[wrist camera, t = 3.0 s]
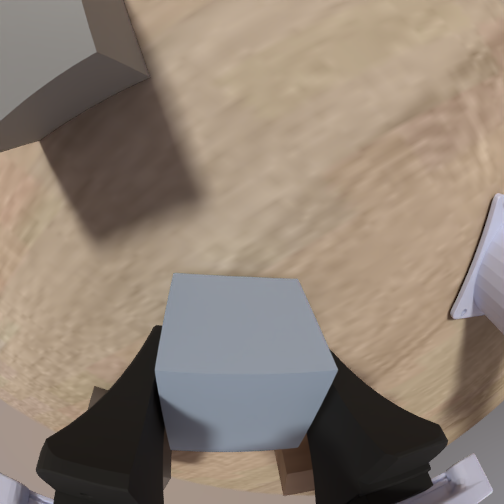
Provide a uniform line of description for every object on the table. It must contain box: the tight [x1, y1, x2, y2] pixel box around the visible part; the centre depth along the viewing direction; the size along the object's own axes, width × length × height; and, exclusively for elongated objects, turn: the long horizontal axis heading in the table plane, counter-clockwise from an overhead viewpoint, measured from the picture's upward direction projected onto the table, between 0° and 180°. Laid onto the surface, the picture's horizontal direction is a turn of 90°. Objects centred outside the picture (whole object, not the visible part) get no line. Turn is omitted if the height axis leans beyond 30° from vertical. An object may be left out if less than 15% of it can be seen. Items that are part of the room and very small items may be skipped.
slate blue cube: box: [155, 273, 338, 452], centre depth 11 cm, size 5×5×5 cm
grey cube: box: [0, 0, 150, 152], centre depth 5 cm, size 5×5×5 cm
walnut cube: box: [275, 434, 315, 496], centre depth 16 cm, size 5×5×5 cm
